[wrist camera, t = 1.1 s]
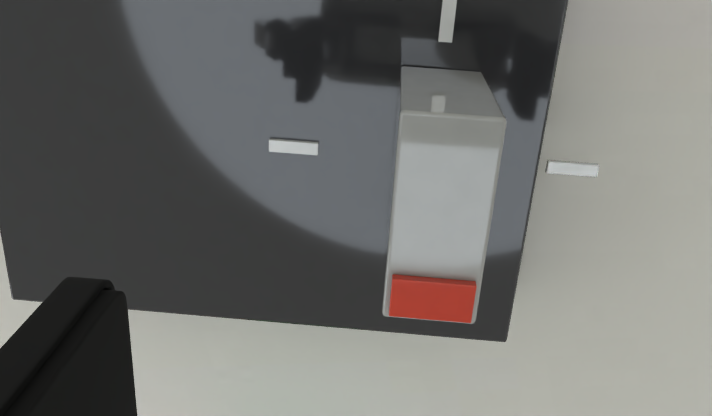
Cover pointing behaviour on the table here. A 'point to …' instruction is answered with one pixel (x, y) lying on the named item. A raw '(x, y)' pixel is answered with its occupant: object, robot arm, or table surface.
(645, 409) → the table surface
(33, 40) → the panel
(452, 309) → the hob knob
